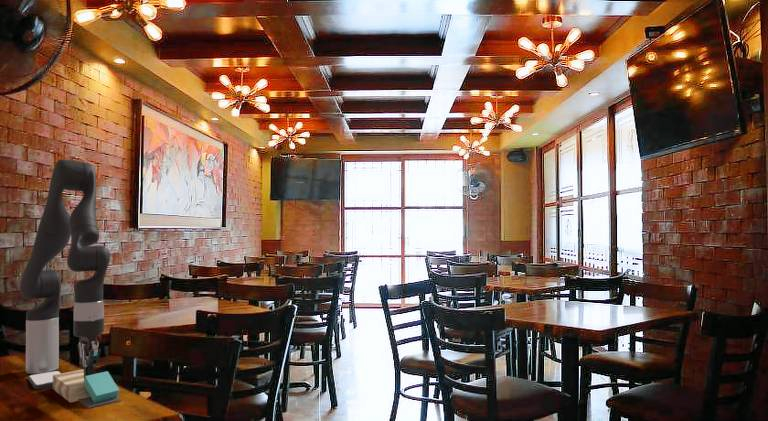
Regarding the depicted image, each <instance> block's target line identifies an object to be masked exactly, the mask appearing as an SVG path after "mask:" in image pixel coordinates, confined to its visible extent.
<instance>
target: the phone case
mask: <svg viewBox="0 0 768 421" xmlns="http://www.w3.org/2000/svg"><path fill="white" fill-rule="evenodd" d="M56 374H61V371H60V370H57V371H56V370H54V371H50V372H45V373H36V374H30V375H28V377H27V380H28V381H29V384H31V386H32V388H33V389H34V390H42V389H43V390H44V389H47V388H53V375H56Z"/></svg>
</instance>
